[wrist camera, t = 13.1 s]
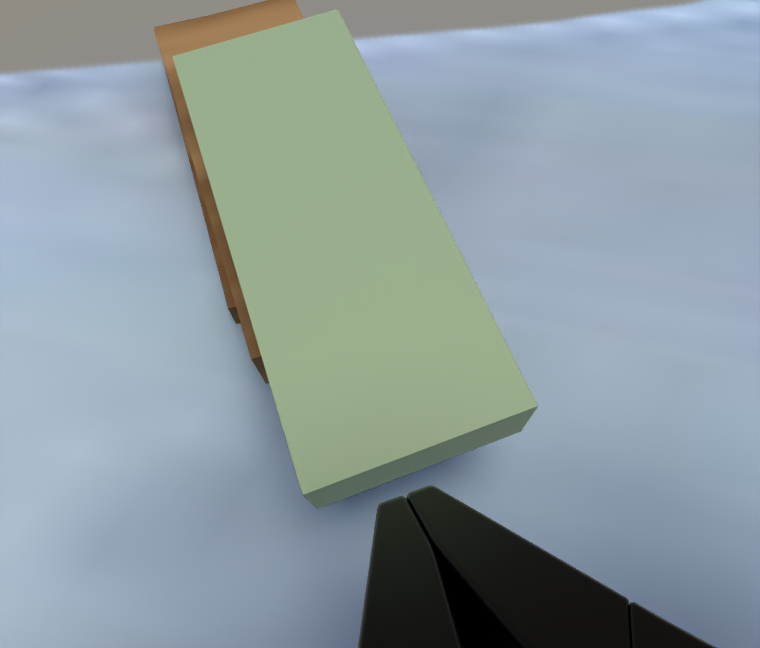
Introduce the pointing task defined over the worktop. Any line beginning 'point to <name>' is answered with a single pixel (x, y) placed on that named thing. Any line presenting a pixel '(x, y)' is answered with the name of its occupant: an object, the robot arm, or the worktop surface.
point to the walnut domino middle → (173, 43)
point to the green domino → (345, 263)
